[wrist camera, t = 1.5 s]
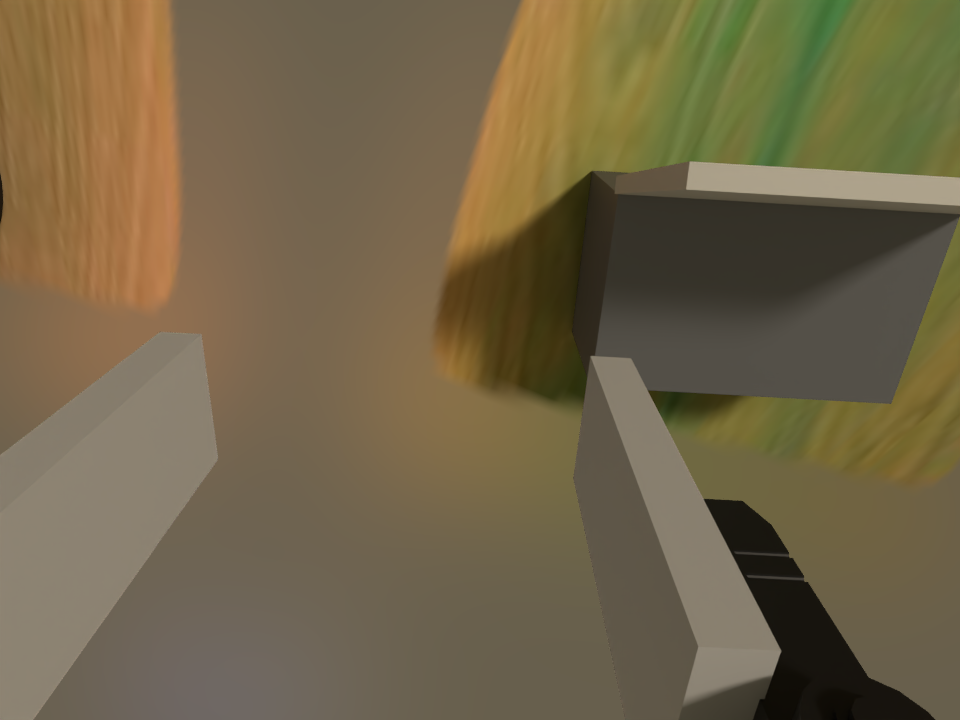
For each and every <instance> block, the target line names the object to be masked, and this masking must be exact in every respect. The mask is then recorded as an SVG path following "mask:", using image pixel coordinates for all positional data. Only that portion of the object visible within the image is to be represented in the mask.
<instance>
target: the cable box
mask: <svg viewBox="0 0 960 720" xmlns="http://www.w3.org/2000/svg"><path fill="white" fill-rule="evenodd" d="M623 174H628V173H621V172H604V171H592V175H591V183H590V191H589V199H588V207H587V215H586V223H585V231H584V239H583V247H582V255H581V263H580V271H579V280H578V288H577V296H576V304H575V312H574V320H573V328H572V333H573V336H574V339H575V342H576V345H577V348H578V351H579V354H580V357H581V360H582V363H583V366H584V369H585V372H586V375H587V377H588V370H589V363H590V356H601V357H619V358H631V359H632V361H633V363H634V365H635V367H636V369H637V371H638V373H639V375H640V377H641V379H642V381H643V383H644V385H645V386H646V388H647V390H651V391H669V392H688V393H706V394H724V395H742V396H760V397H778V398H796V399H815V400H833V401H851V402H869V403H887V404H891V403H892V400H893V397H894V394H895V392H896V389H897V386H898V384H899V381H900V378H901V375H902V373H903V370H904V367H905V364H906V362H907V359H908V356H909V353H910V351H911V348H912V345H913V343H914V340H915V337H916V334H917V332H918V329H919V326H920V323H921V321H922V318H923V315H924V313H925V310H926V307H927V304H928V302H929V299H930V296H931V293H932V291H933V288H934V285H935V282H936V280H937V277H938V274H939V272H940V269H941V266H942V263H943V261H944V258H945V255H946V252H947V250H948V247H949V244H950V241H951V239H952V236H953V233H954V231H955V228H956V225H957V222H958V220H959V217H960V214H946V213H929V212H912V211H895V210H878V209H861V208H844V207H827V206H811V205H794V204H777V203H760V202H743V201H726V200H709V199H692V198H675V197H658V196H641V195H625V194H614V193H615V184H616V176H618V175H623Z"/></svg>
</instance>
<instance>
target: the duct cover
mask: <svg viewBox="0 0 960 720" xmlns="http://www.w3.org/2000/svg"><path fill="white" fill-rule="evenodd" d="M614 194H625V195H641V196H658V197H675V198H692V199H709V200H726V201H743V202H760V203H777V204H794V205H811V206H827V207H844V208H861V209H878V210H895V211H912V212H929V213H946V214H960V178H955V177H939V176H922V175H905V174H889V173H872V172H855V171H838V170H822V169H805V168H788V167H772V166H755V165H738V164H722V163H705V162H685V163H680V164H675V165H670V166H664V167H659V168H654V169H649V170H644V171H639V172H634V173H628V174H623V175H618V176H616V184H615V193H614Z"/></svg>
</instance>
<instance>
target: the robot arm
mask: <svg viewBox="0 0 960 720" xmlns="http://www.w3.org/2000/svg"><path fill="white" fill-rule="evenodd" d="M2 207H3V191H2V181H1V175H0V221H1V216H2ZM579 435H580V436H579V442H578V450H577V456H576V463H575V470H574V477H573V478H574V483H575V488H576V493H577V497H578V502H579V507H580V511H581V516H582V520H583V525H584V530H585V534H586V539H587V544H588V548H589V553H590V558H591V562H592V567H593V572H594V576H595V581H596V585H597V590H598V595H599V600H600V604H601V609H602V614H603V618H604V623H605V628H606V632H607V637H608V642H609V646H610V651H611V655H612V660H613V665H614V670H615V674H616V679H617V684H618V688H619V692H620V697H621V702H622V707H623V712H624V716H625V720H935V719H934V718H933V717H932V716H931V715H930V714H929V713H928V712H927V711H926V710H924V709H923V708H921V707H920V706H919V705H917V704H916V703H915V702H913V701H912V700H910V699H909V698H908V697H906V696H905V695H903V694H902V693H901V692H899V691H897V690H895V689H893V688H891V687H888V686H886V685H884V684H882V683H879V682H877V681H875V680H873V679H871V678H869V677H868V676H867V674H866V673H865V671H864V670H863V668H862V666H861V665H860V663H859V662H858V660H857V659H856V657H855V656H854V654H853V652H852V651H851V649H850V648H849V646H848V644H847V643H846V641H845V640H844V638H843V637H842V635H841V633H840V632H839V630H838V629H837V627H836V626H835V624H834V623H833V621H832V619H831V618H830V616H829V615H828V613H827V612H826V610H825V608H824V607H823V605H822V604H821V602H820V601H819V599H818V597H817V596H816V594H815V593H814V591H813V590H812V588H811V586H810V585H809V584H808V582H804V575H803V574H802V572H801V571H800V569H799V568H798V566H797V564H796V563H795V561H794V560H793V558H789V552H788V550H787V549H786V547H785V546H784V544H783V543H782V541H781V539H780V538H779V536H778V535H777V533H776V531H775V530H774V528H773V527H772V525H771V524H770V523H768V522H767V521H766V520H765V519H763V518H762V517H761V516H760V515H759V514H758V513H756V512H755V511H754V510H753V509H751V508H750V507H749V506H748V505H747V504H745V503H744V502H743V501H732V500H714V499H703V497H702V496H701V494H700V492H699V490H698V488H697V486H696V484H695V482H694V480H693V478H692V476H691V474H690V472H689V470H688V468H687V467H686V464H685V462H684V460H683V459H682V457H681V455H680V453H679V451H678V449H677V447H676V445H675V443H674V441H673V439H672V437H671V435H670V433H669V431H668V429H667V427H666V425H665V423H664V422H663V420H662V418H661V416H660V414H659V412H658V410H657V408H656V406H655V404H654V402H653V400H652V398H651V396H650V394H649V392H648V390H647V388H646V386H645V385H644V383H643V381H642V379H641V377H640V375H639V373H638V371H637V369H636V367H635V365H634V363H633V361H632V359H631V358H619V357H601V356H590V363H589V370H588V377H587V384H586V391H585V399H584V406H583V413H582V420H581V427H580V434H579ZM217 460H218V454H217V447H216V439H215V432H214V425H213V417H212V410H211V402H210V395H209V387H208V381H207V372H206V366H205V358H204V351H203V343H202V336H201V334H189V333H171V332H159V333H158V334H157V335H155V336H154V337H153V338H152V339H150V340H149V341H148V342H146V343H145V344H144V345H143V346H141V347H140V348H139V349H137V350H136V351H135V352H133V353H132V354H131V355H130V356H128V357H127V358H126V359H124V360H123V361H122V362H120V363H119V364H118V365H116V366H115V367H114V368H113V369H111V370H110V371H109V372H107V373H106V374H105V375H104V376H102V377H101V378H100V379H98V380H97V381H96V382H94V383H93V384H92V385H90V386H89V387H88V388H87V389H85V390H84V391H83V392H81V393H80V394H79V395H78V396H76V397H75V398H74V399H72V400H71V401H70V402H68V403H67V404H66V405H65V406H63V407H62V408H61V409H59V410H58V411H57V412H55V413H54V414H53V415H52V416H50V417H49V418H48V419H46V420H45V421H44V422H43V423H41V424H40V425H39V426H37V427H36V428H35V429H33V430H32V431H31V432H30V433H28V434H27V435H26V436H24V437H23V438H22V439H20V440H19V441H18V442H16V443H15V444H14V445H13V446H11V447H10V448H9V449H7V450H6V451H5V452H4V453H2V454H1V455H0V720H33V719H34V718H35V716H36V715H37V714H38V712H39V711H40V709H41V708H42V706H43V705H44V704H45V702H46V701H47V699H48V698H49V697H50V695H51V694H52V692H53V691H54V689H55V688H56V687H57V685H58V684H59V682H60V681H61V680H62V678H63V677H64V676H65V674H66V673H67V671H68V670H69V669H70V667H71V666H72V664H73V663H74V661H75V660H76V658H77V657H78V656H79V654H80V653H81V652H82V650H83V649H84V647H85V646H86V645H87V643H88V642H89V640H90V639H91V638H92V636H93V635H94V633H95V632H96V630H97V629H98V628H99V626H100V625H101V623H102V622H103V621H104V619H105V618H106V616H107V615H108V614H109V612H110V611H111V609H112V608H113V607H114V605H115V604H116V602H117V601H118V599H119V598H120V597H121V595H122V594H123V592H124V591H125V590H126V588H127V587H128V585H129V584H130V583H131V581H132V580H133V578H134V577H135V576H136V574H137V573H138V571H139V570H140V569H141V567H142V566H143V564H144V563H145V561H146V560H147V559H148V557H149V556H150V554H151V553H152V552H153V550H154V549H155V547H156V546H157V544H158V543H159V542H160V540H161V539H162V537H163V536H164V535H165V533H166V532H167V530H168V529H169V527H170V526H171V525H172V523H173V522H174V521H175V519H176V518H177V516H178V515H179V514H180V512H181V511H182V509H183V508H184V507H185V505H186V504H187V502H188V501H189V499H190V498H191V497H192V495H193V494H194V492H195V491H196V489H197V488H198V486H199V485H200V484H201V483H202V481H203V480H204V478H205V477H206V476H207V474H208V472H209V471H210V470H211V468H212V467H213V466H214V464H215V463H216V461H217Z"/></svg>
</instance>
